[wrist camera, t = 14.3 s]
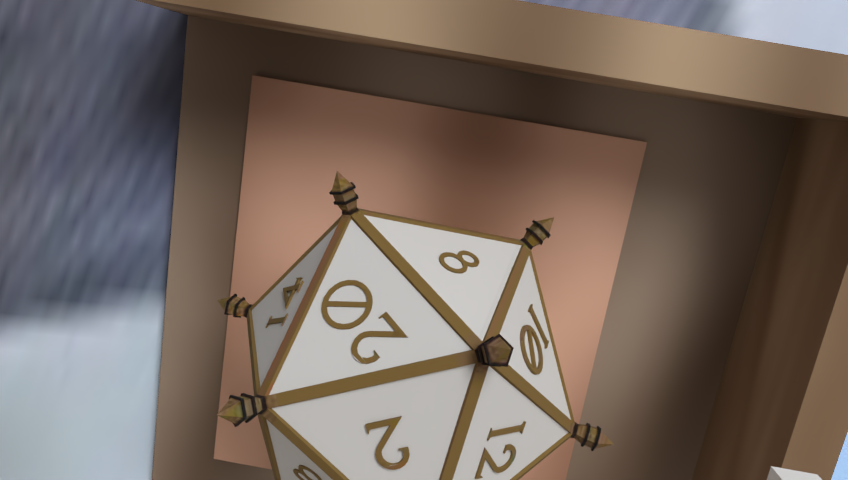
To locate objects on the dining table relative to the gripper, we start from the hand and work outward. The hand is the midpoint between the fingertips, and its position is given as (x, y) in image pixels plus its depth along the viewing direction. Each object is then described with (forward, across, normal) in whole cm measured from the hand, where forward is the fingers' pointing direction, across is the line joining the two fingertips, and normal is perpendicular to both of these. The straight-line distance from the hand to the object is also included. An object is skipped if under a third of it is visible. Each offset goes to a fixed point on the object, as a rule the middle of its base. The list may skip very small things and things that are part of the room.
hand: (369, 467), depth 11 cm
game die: (+9, 0, 0) cm, 9 cm away
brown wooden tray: (+9, +2, 0) cm, 9 cm away
